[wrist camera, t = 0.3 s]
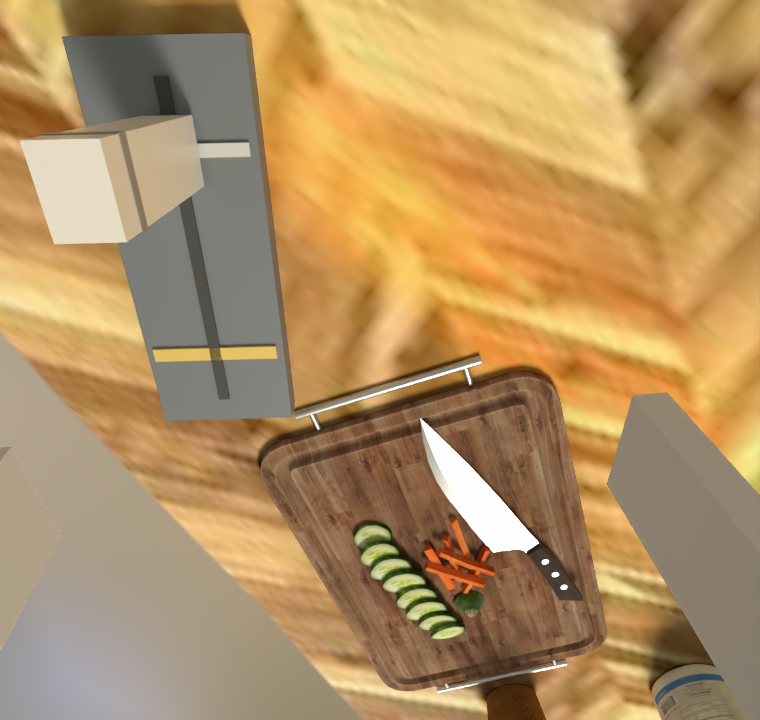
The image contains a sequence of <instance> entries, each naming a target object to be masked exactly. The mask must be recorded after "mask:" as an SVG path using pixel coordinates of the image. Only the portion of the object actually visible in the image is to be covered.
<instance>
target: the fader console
mask: <svg viewBox="0 0 760 720" xmlns="http://www.w3.org/2000/svg"><path fill="white" fill-rule="evenodd" d="M62 39H63V43H64V46H65V50H66V54H67V57H68V61H69V65H70V68H71V72H72V76H73V79H74V83H75V87H76V91H77V94H78V98H79V102H80V105H81V109H82V113H83V116H84V120H85V124H86V127H88V126H93V125H98V124H103V123H108V122H113V121H117V120H122V119H127V118H132V117H137V116H158V115H192V118H193V123H194V129H195V135H196V140H197V146H198V151H199V157H200V163H201V168H202V174H203V180H204V185H205V186H204V187H203V188H201V189H200V190H198V191H197V192H196V193H194V194H193V195H192V196H190V197H189V198H187V199H186V200H185V201H183V202H182V203H180V204H179V205H178V206H176V207H175V208H174V209H172V210H171V211H169V212H168V213H167V214H165V215H164V216H162V217H161V218H160V219H158V220H157V221H156V222H154V223H153V224H151V225H150V226H149V227H148V229H147V230H146V231H145V232H140V233H139V234H138V235H136V236H135V237H133V238H132V239H131V240H129V241H128V242H118V245H119V249H120V253H121V256H122V260H123V264H124V267H125V271H126V275H127V279H128V282H129V286H130V290H131V293H132V297H133V301H134V304H135V308H136V312H137V315H138V319H139V323H140V326H141V330H142V334H143V338H144V341H145V345H146V349H147V352H148V356H149V360H150V363H151V367H152V371H153V374H154V378H155V382H156V385H157V389H158V393H159V397H160V400H161V404H162V408H163V411H164V415H165V419H166V421H179V420H213V419H247V418H281V417H292V414H293V409H294V404H295V401H294V392H293V384H292V376H291V367H290V359H289V350H288V342H287V334H286V325H285V317H284V308H283V300H282V292H281V283H280V275H279V266H278V258H277V250H276V241H275V233H274V224H273V216H272V208H271V199H270V191H269V182H268V174H267V166H266V157H265V149H264V140H263V132H262V124H261V115H260V107H259V98H258V90H257V82H256V73H255V65H254V56H253V48H252V40H251V35H249V34H246V33H211V34H161V35H111V36H62Z"/></svg>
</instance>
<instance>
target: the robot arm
mask: <svg viewBox="0 0 760 720" xmlns="http://www.w3.org/2000/svg"><path fill="white" fill-rule="evenodd" d="M607 485H608V487H609V488H610V490H611V492H612V493H613V495H614V497H615V498H616V500H617V502H618V503H619V505H620V507H621V509H622V510H623V512H624V514H625V515H626V517H627V519H628V520H629V522H630V524H631V525H632V527H633V529H634V530H635V532H636V534H637V535H638V537H639V539H640V540H641V542H642V544H643V546H644V547H645V549H646V551H647V552H648V554H649V556H650V557H651V559H652V561H653V562H654V564H655V566H656V567H657V569H658V571H659V572H660V574H661V576H662V577H663V579H664V581H665V583H666V584H667V586H668V588H669V589H670V591H671V593H672V594H673V596H674V598H675V599H676V601H677V603H678V604H679V606H680V608H681V609H682V611H683V613H684V614H685V616H686V618H687V619H688V621H689V623H690V625H691V626H692V628H693V630H694V631H695V633H696V635H697V636H698V638H699V640H700V641H701V643H702V645H703V646H704V648H705V650H706V651H707V653H708V655H709V656H710V658H711V660H712V662H713V663H714V665H715V667H716V668H717V670H718V672H719V673H720V675H721V677H722V678H723V680H724V682H725V683H726V685H727V687H728V688H729V690H730V692H731V693H732V695H733V697H734V699H735V700H736V702H737V704H738V705H739V707H740V709H741V710H742V712H743V714H744V715H745V717H746V719H747V720H760V495H759V494H758V493H757V492H756V491H755V490H754V488H753V487H752V486H751V485H750V484H749V483H748V482H747V481H746V480H745V478H744V477H743V476H742V475H741V474H740V473H739V472H738V471H737V470H736V468H735V467H734V466H733V465H732V464H731V463H730V462H729V461H728V460H727V458H726V457H725V456H724V455H723V454H722V453H721V452H720V451H719V450H718V448H717V447H716V446H715V445H714V444H713V443H712V442H711V441H710V440H709V438H708V437H707V436H706V435H705V434H704V433H703V432H702V431H701V430H700V429H699V427H698V426H697V425H696V424H695V423H694V422H693V421H692V420H691V419H690V417H689V416H688V415H687V414H686V413H685V412H684V411H683V410H682V409H681V407H680V406H679V405H678V404H677V403H676V402H675V401H674V400H673V399H672V397H671V396H670V395H669V394H668V393H656V394H644V395H633V397H632V400H631V404H630V407H629V411H628V414H627V417H626V421H625V424H624V428H623V431H622V434H621V438H620V441H619V445H618V448H617V451H616V455H615V458H614V462H613V465H612V469H611V472H610V475H609V479H608V482H607ZM61 534H62V533H61V531H60V529H59V528H58V526H57V524H56V522H55V521H54V519H53V517H52V516H51V514H50V512H49V510H48V509H47V507H46V505H45V504H44V502H43V500H42V499H41V497H40V495H39V494H38V492H37V490H36V489H35V487H34V485H33V483H32V482H31V480H30V478H29V477H28V475H27V473H26V472H25V470H24V468H23V466H22V465H21V463H20V461H19V460H18V458H17V456H16V454H15V453H14V451H13V449H12V448H11V447H4V448H0V652H1V650H2V648H3V646H4V644H5V642H6V641H7V639H8V636H9V635H10V633H11V631H12V629H13V627H14V625H15V623H16V621H17V619H18V617H19V615H20V614H21V612H22V609H23V608H24V606H25V604H26V602H27V600H28V598H29V596H30V594H31V592H32V590H33V588H34V586H35V584H36V583H37V581H38V579H39V577H40V575H41V573H42V571H43V569H44V567H45V565H46V563H47V561H48V559H49V558H50V556H51V554H52V552H53V550H54V548H55V546H56V544H57V542H58V540H59V538H60V536H61Z"/></svg>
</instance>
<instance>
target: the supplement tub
mask: <svg viewBox="0 0 760 720" xmlns="http://www.w3.org/2000/svg"><path fill="white" fill-rule="evenodd" d="M652 699H653V701H654V704H655V706H656V708H657V710H658V713H659V715H660V717H661V719H662V720H747V719H746V717H745V715H744V714H743V712H742V710H741V709H740V707H739V705H738V704H737V702H736V700H735V699H734V697H733V695H732V693H731V692H730V690H729V688H728V687H727V685H726V683H725V682H724V680H723V678H722V677H721V675H720V673H719V672H718V670H717V668H716V667H714V666H711V665H705V664H692V665H686V666H681V667H678V668H675V669H673V670H670V671H668V672H667V673H665V674H664V675H662V676H661V677H660V678H659V679H658V680H657V681H656V682H655V684H654V685H653V688H652Z"/></svg>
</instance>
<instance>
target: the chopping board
mask: <svg viewBox="0 0 760 720" xmlns="http://www.w3.org/2000/svg"><path fill="white" fill-rule="evenodd" d="M481 364H482V361H481V357H480V355H477V356H474V357H471V358H467V359H464V360H461V361H458V362H454V363H451V364H448V365H444V366H441V367H438V368H434V369H431V370H428V371H425V372H421V373H418V374H415V375H411V376H408V377H405V378H401V379H398V380H395V381H392V382H388V383H385V384H382V385H378V386H375V387H372V388H368V389H365V390H362V391H359V392H355V393H352V394H349V395H345V396H342V397H339V398H335V399H332V400H329V401H326V402H322V403H319V404H316V405H312V406H309V407H306V408H303V409H299V410H296V411H294V417H295V418H296V419H297V420H298V419H302V418H305V417H308V416H310V418H311V420H312V422H313V424H314V426H315V428H316V431H312V432H309V433H305V434H302V435H299V436H295V437H292V438H289V439H285V440H282V441H280V442H278V443H276V444H274V445H272V446H271V447H270V448H269V449H268V450H267V452H266V453H265V454H264V455H263V458H262V462H261V467H260V472H259V473H260V476H261V479H262V482H263V484H264V486H265V488H266V489H267V491H268V492H269V494H270V496H271V497H272V499H273V501H274V502H275V504H276V506H277V507H278V509H279V511H280V512H281V514H282V516H283V517H284V519H285V521H286V522H287V524H288V526H289V527H290V529H291V530H292V532H293V534H294V535H295V537H296V539H297V540H298V542H299V544H300V545H301V547H302V549H303V550H304V552H305V554H306V555H307V557H308V559H309V560H310V562H311V564H312V565H313V567H314V569H315V570H316V572H317V573H318V575H319V577H320V578H321V580H322V582H323V583H324V585H325V587H326V588H327V590H328V592H329V593H330V595H331V597H332V598H333V600H334V602H335V603H336V605H337V607H338V608H339V610H340V611H341V613H342V615H343V616H344V618H345V620H346V621H347V623H348V625H349V626H350V628H351V630H352V631H353V633H354V635H355V636H356V638H357V640H358V641H359V643H360V645H361V646H362V648H363V649H364V651H365V653H366V654H367V656H368V658H369V659H370V661H371V663H372V664H373V666H374V668H375V669H376V671H377V673H378V674H379V676H380V678H381V679H382V681H383V682H384V683H385V684H386V685H387V686H388V687H391V688H393V689H395V690H400V691H415V690H421V689H425V688H430V687H435V686H437V691H438V693H441V692H446V691H450V690H455V689H460V688H464V687H469V686H474V685H478V684H483V683H488V682H492V681H497V680H502V679H507V678H511V677H516V676H521V675H525V674H530V673H535V672H539V671H544V670H549V669H553V668H558V667H563V666H567V663H566V660H565V659H564V658H569V657H574V656H578V655H582V654H585V653H588V652H591V651H593V650H595V649H596V648H598V647H600V646H601V645H602V643H603V642H604V641H605V640H606V636H607V629H606V624H605V619H604V614H603V609H602V605H601V600H600V595H599V590H598V585H597V580H596V575H595V570H594V565H593V560H592V555H591V550H590V545H589V540H588V536H587V531H586V526H585V521H584V516H583V511H582V506H581V501H580V496H579V491H578V486H577V481H576V476H575V471H574V467H573V462H572V457H571V452H570V447H569V442H568V437H567V432H566V427H565V422H564V417H563V412H562V407H561V402H560V398H559V396H558V394H557V392H556V390H555V388H554V386H553V385H552V383H551V382H550V381H548V380H547V379H546V378H544V377H543V376H542V375H540V374H536V373H531V372H527V371H523V372H515V373H508V374H505V375H502V376H498V377H495V378H492V379H488V380H485V381H481V382H478V383H475V384H474V382H473V379H472V375H471V372H470V369H469V368H471V367H475V366H478V365H481ZM461 370H463V372H464V375H465V378H466V382H467V385H468V386H464V387H461V388H458V389H454V390H451V391H448V392H444V393H441V394H437V395H434V396H431V397H427V398H424V399H420V400H417V401H414V402H410V403H407V404H404V405H400V406H397V407H393V408H390V409H387V410H383V411H380V412H376V413H373V414H370V415H366V416H363V417H360V418H356V419H353V420H349V421H346V422H343V423H339V424H336V425H333V426H329V427H326V428H322V427H321V425H320V423H319V421H318V419H317V417H316V415H315V414H318V413H322V412H325V411H328V410H332V409H335V408H338V407H342V406H345V405H348V404H352V403H355V402H358V401H362V400H365V399H368V398H372V397H375V396H378V395H382V394H385V393H388V392H392V391H395V390H398V389H402V388H405V387H408V386H412V385H415V384H418V383H421V382H425V381H428V380H431V379H435V378H438V377H441V376H445V375H448V374H451V373H455V372H458V371H461ZM560 659H562V660H560ZM556 660H557V661H556ZM550 661H552V662H550ZM546 662H548V663H546ZM541 663H543V664H541ZM537 664H539V665H537ZM532 665H534V666H532ZM527 666H529V667H527ZM523 667H525V668H523ZM518 668H520V669H518ZM513 669H516V670H513ZM509 670H511V671H509ZM504 671H506V672H504ZM499 672H502V673H499ZM495 673H497V674H495ZM490 674H492V675H490ZM486 675H488V676H486ZM481 676H483V677H481ZM476 677H478V678H476ZM472 678H474V679H472ZM467 679H469V680H467ZM462 680H464V681H462ZM458 681H460V682H458ZM453 682H455V683H453ZM448 683H450V684H448ZM439 685H441V686H439Z"/></svg>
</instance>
